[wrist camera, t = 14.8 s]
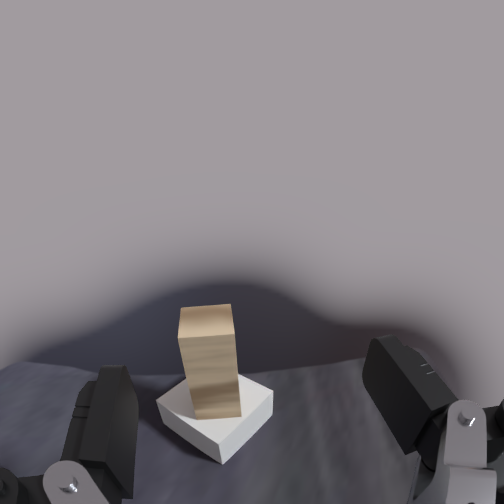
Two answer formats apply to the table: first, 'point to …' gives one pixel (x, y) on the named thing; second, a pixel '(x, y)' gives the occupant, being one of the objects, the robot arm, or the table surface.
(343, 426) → the table surface
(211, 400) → the maple pillar
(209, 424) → the grey base block
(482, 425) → the robot arm
